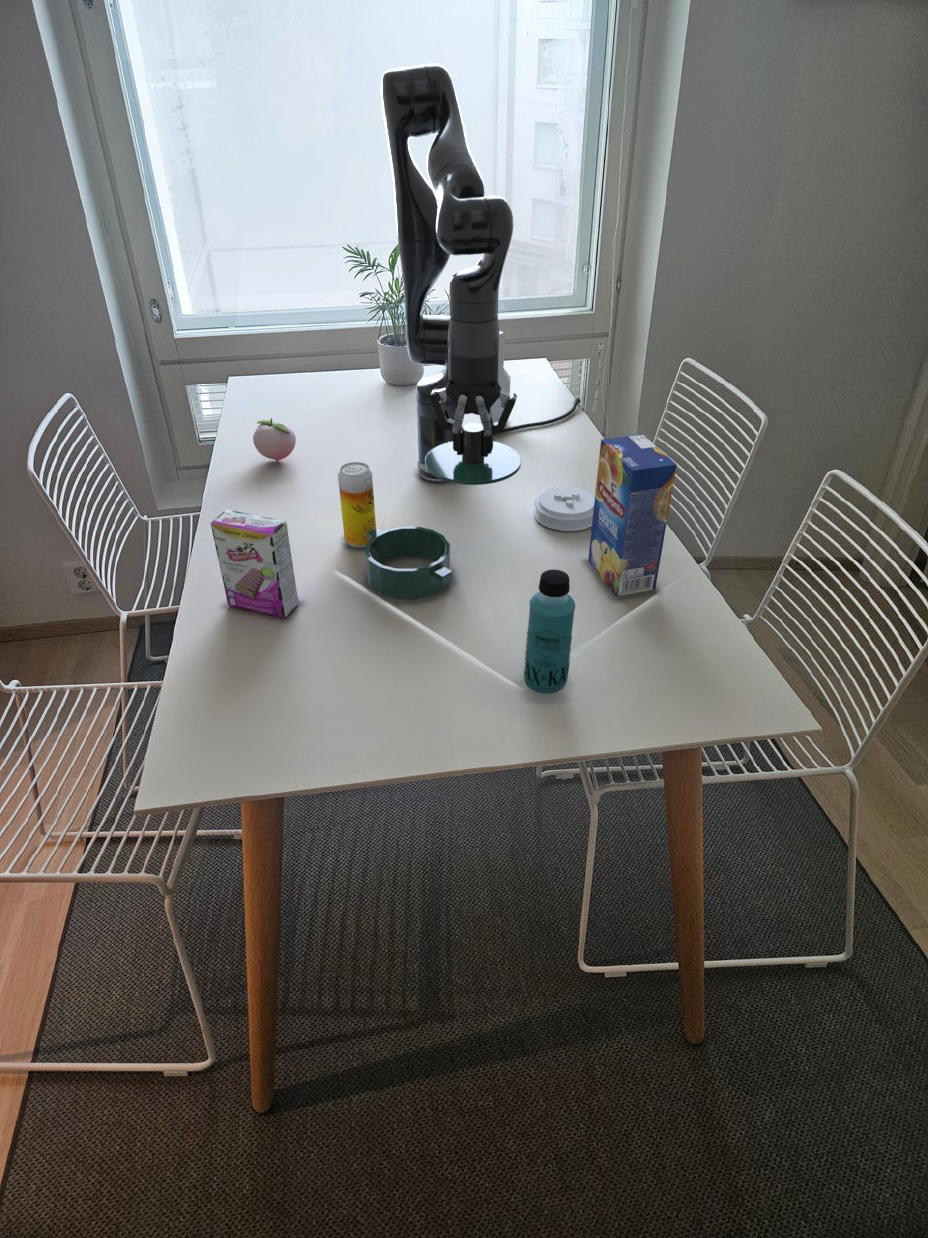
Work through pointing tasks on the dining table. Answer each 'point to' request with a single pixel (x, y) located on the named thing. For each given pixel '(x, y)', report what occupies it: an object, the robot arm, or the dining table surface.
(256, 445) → the decorative fruit
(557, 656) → the beverage bottle
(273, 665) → the dining table surface
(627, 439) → the juice carton
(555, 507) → the lid
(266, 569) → the candy bar box
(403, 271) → the robot arm
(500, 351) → the low poly bottle
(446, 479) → the pot lid
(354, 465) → the beer can
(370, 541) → the pot
